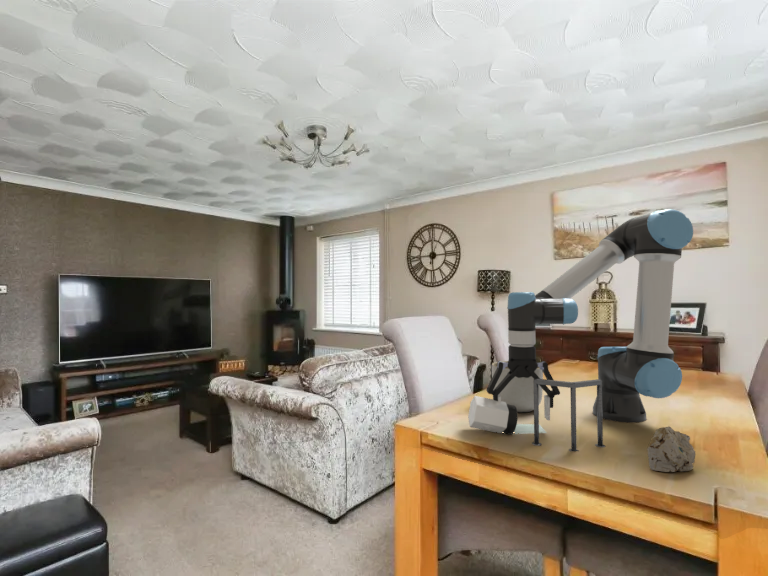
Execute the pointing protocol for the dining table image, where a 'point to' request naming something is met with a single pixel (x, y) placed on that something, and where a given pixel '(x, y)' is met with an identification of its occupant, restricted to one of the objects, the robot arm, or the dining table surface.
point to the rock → (670, 451)
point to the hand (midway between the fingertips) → (523, 418)
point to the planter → (519, 390)
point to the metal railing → (573, 408)
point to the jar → (492, 415)
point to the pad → (527, 429)
